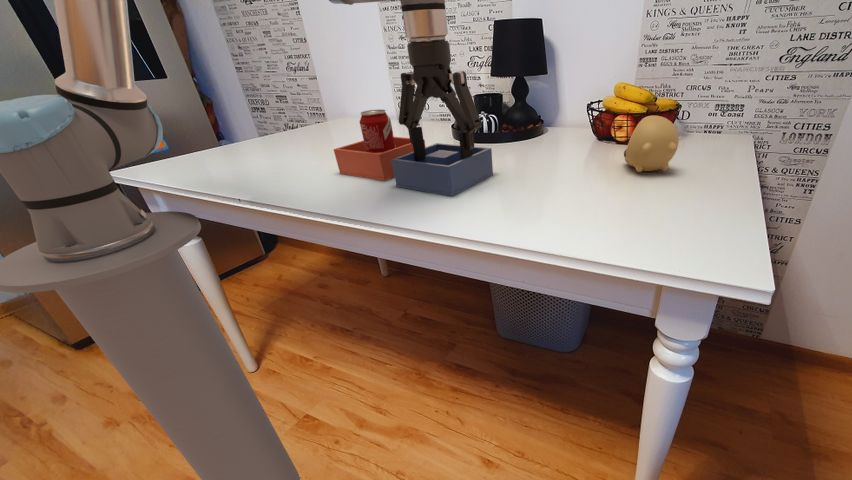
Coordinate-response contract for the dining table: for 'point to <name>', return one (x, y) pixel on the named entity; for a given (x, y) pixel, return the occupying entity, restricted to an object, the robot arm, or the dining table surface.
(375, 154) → the red bin
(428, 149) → the blue bin
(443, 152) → the blue block
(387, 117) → the soda can
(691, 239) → the dining table surface
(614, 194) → the dining table surface
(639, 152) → the toy pig
